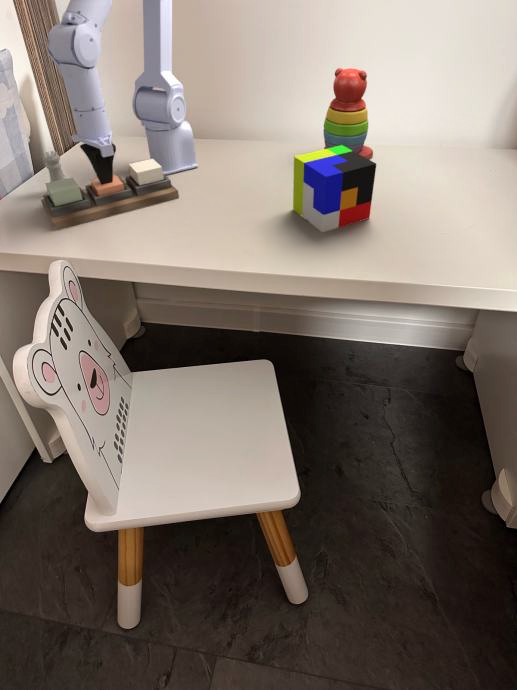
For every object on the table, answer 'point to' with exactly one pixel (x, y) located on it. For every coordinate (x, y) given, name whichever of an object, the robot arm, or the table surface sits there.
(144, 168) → the cream button
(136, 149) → the table surface
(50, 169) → the rook chess piece
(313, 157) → the puzzle toy
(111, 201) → the button board
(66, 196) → the sage button
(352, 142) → the stacking bear
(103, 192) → the terracotta button
